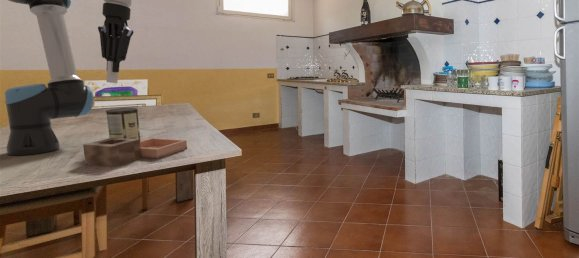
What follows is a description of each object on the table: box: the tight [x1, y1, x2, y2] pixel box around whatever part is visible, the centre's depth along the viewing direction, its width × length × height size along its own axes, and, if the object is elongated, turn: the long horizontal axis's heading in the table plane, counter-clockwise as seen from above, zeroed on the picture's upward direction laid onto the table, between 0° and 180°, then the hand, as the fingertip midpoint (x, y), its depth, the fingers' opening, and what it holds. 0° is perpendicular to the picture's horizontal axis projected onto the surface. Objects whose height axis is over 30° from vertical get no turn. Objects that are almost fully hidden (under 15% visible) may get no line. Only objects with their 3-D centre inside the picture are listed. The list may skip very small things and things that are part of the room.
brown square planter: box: [82, 138, 142, 168], centre depth 106 cm, size 11×11×6 cm
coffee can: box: [105, 107, 141, 140], centre depth 124 cm, size 10×10×14 cm
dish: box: [140, 137, 188, 160], centre depth 117 cm, size 15×15×3 cm
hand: (111, 82), depth 107 cm, fingers closed
